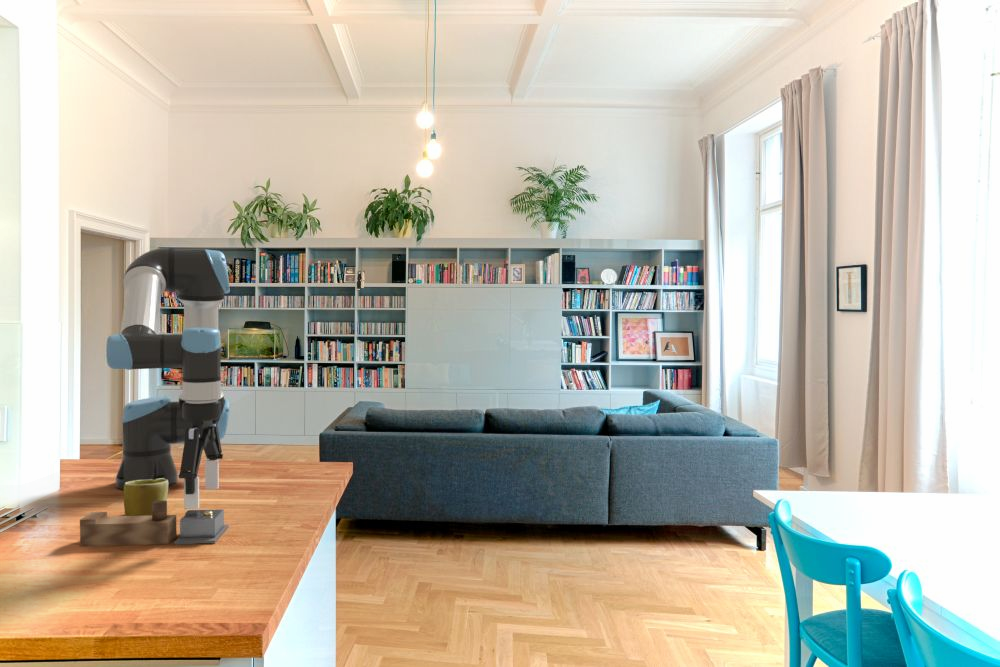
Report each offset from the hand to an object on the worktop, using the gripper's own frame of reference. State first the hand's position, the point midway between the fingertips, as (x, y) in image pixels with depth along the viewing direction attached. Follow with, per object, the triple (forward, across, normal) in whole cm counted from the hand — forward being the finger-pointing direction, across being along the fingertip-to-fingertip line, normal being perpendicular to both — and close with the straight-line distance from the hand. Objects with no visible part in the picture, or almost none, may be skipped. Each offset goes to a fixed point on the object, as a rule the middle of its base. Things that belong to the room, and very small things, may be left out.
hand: (202, 498), depth 144 cm
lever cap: (+7, +1, 0) cm, 7 cm away
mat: (+8, +1, 0) cm, 8 cm away
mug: (+9, -16, -17) cm, 25 cm away
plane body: (+8, +3, -14) cm, 16 cm away
